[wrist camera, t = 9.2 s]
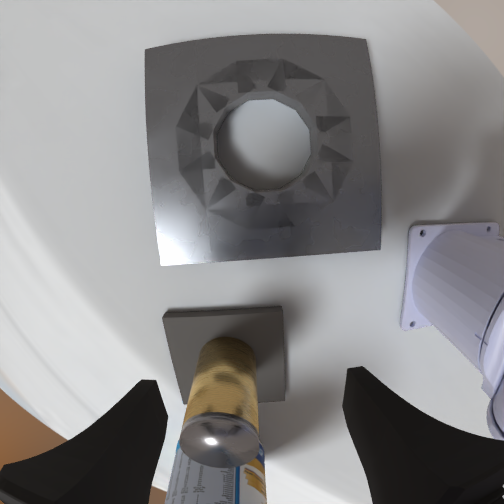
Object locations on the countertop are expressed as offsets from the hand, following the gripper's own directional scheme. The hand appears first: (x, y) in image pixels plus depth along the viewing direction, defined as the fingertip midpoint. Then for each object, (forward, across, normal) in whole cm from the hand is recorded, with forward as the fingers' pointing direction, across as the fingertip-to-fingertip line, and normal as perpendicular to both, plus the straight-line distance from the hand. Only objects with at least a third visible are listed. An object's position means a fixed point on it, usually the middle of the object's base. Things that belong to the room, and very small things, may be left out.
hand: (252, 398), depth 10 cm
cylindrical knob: (+9, +2, +5) cm, 10 cm away
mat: (+10, +2, +5) cm, 11 cm away
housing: (+10, -2, -10) cm, 14 cm away
